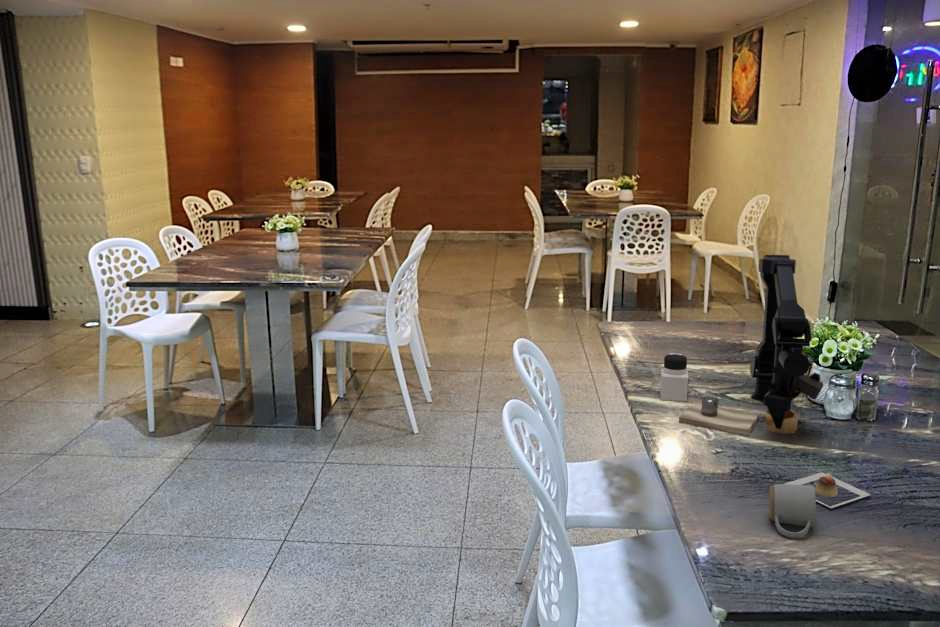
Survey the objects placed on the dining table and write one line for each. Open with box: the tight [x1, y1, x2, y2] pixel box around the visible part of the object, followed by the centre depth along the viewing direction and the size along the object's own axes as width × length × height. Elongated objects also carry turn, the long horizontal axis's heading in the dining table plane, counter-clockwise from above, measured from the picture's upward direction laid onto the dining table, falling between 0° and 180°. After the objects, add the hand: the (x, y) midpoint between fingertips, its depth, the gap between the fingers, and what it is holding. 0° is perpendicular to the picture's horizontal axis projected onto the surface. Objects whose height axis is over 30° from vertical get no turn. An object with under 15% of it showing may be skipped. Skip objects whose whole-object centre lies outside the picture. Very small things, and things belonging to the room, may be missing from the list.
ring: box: [764, 409, 799, 435], centre depth 197 cm, size 7×7×4 cm
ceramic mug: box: [768, 483, 817, 539], centre depth 150 cm, size 11×8×8 cm
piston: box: [701, 396, 719, 417], centre depth 202 cm, size 4×4×4 cm
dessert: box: [784, 471, 872, 509], centre depth 164 cm, size 12×12×5 cm
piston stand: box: [678, 402, 760, 436], centre depth 202 cm, size 12×17×2 cm
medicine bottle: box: [659, 353, 690, 402], centre depth 218 cm, size 7×7×12 cm
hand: (781, 423), depth 197 cm, fingers closed on ring, 7 cm apart
